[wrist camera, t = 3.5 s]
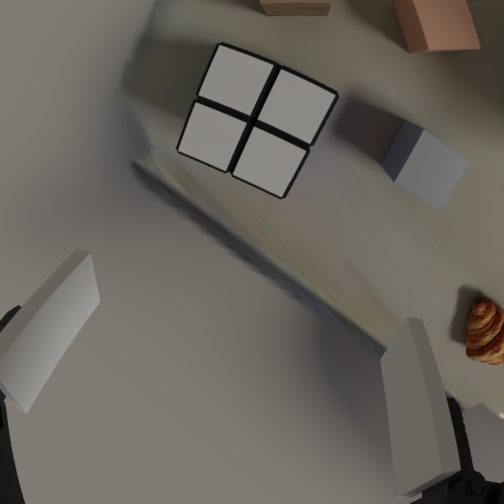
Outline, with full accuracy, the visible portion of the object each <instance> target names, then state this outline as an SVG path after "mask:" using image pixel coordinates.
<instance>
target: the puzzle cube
mask: <svg viewBox="0 0 504 504" xmlns="http://www.w3.org/2000/svg"><path fill="white" fill-rule="evenodd" d="M196 94H197V97H198V99H196V100H194V101H193V103H192V106H191V108H190V111H189V113H188V116H187V119H186V122H185V124H184V127H183V130H182V133H181V135H180V138H179V141H178V144H177V147H176V150H177V152H178V153H179V154H181V155H184V156H186V157H189V158H191V159H193V160H196V161H198V162H200V163H203V164H205V165H207V166H209V167H212V168H214V169H216V170H219V171H221V172H223V173H228V172H230V173H231V175H232V177H234V178H236V179H238V180H240V181H242V182H245V183H247V184H249V185H251V186H253V187H255V188H258V189H260V190H262V191H264V192H266V193H268V194H270V195H272V196H275V197H277V198H279V199H283V198H286V196H287V194H288V192H289V190H290V189H291V187H292V185H293V183H294V181H295V179H296V177H297V175H298V174H299V172H300V170H301V168H302V166H303V164H304V162H305V160H306V159H307V157H308V155H309V153H310V146H313V145H314V144H315V142H316V140H317V138H318V136H319V134H320V132H321V130H322V129H323V127H324V125H325V123H326V121H327V119H328V117H329V115H330V113H331V112H332V110H333V108H334V106H335V104H336V102H337V100H338V98H339V95H338V92H337V91H335V90H334V89H332V88H330V87H328V86H326V85H324V84H322V83H320V82H318V81H316V80H314V79H312V78H310V77H307V76H305V75H303V74H301V73H299V72H297V71H295V70H292V69H290V68H288V67H286V66H281V65H279V64H278V63H276V62H274V61H272V60H270V59H267V58H265V57H262V56H260V55H257V54H255V53H252V52H249V51H247V50H244V49H241V48H238V47H236V46H233V45H230V44H227V43H224V42H221V43H219V44H217V45H216V47H215V50H214V52H213V54H212V56H211V59H210V61H209V63H208V66H207V68H206V70H205V73H204V75H203V78H202V80H201V82H200V85H199V87H198V90H197V92H196Z"/></svg>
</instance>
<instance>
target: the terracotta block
mask: <svg viewBox="0 0 504 504" xmlns="http://www.w3.org/2000/svg"><path fill="white" fill-rule="evenodd" d="M392 4H393V6H394V9H395V12H396V15H397V17H398V20H399V23H400V26H401V29H402V32H403V35H404V39H405V42H406V45H407V49H408V52H409V53H420V52H435V51H458V50H471V49H481V47H480V43H479V40H478V36H477V32H476V29H475V26H474V22H473V19H472V16H471V13H470V10H469V7H468V4H467V2H466V0H396V1H394V2H393V3H392Z"/></svg>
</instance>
